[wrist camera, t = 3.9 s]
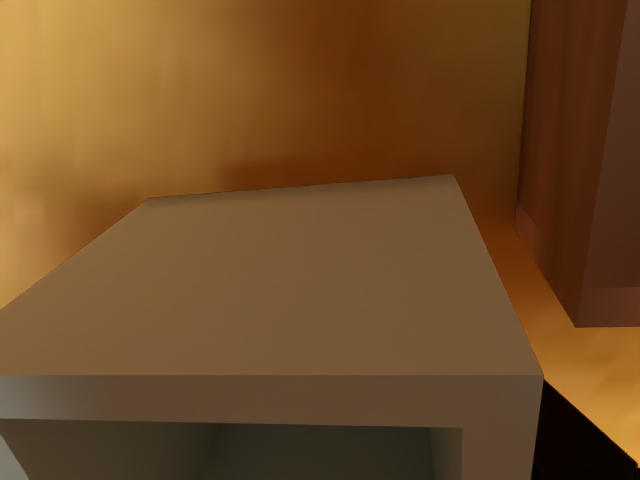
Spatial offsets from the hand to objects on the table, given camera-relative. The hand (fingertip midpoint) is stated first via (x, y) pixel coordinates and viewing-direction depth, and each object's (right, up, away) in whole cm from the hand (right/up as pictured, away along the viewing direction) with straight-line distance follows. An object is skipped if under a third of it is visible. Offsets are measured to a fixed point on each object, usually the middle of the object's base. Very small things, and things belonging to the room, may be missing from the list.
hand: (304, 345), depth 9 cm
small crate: (0, +1, +1) cm, 1 cm away
